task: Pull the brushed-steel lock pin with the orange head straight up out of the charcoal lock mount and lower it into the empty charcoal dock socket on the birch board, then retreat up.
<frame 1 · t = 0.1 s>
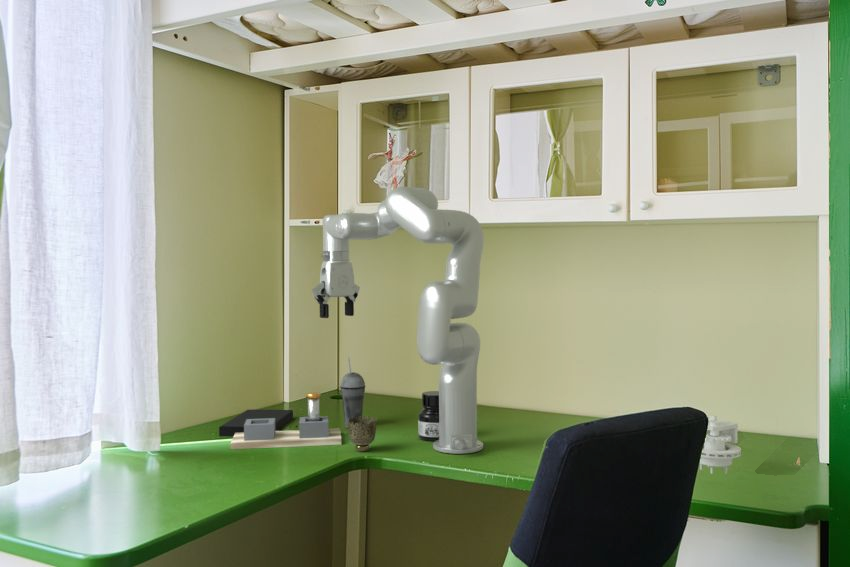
hand: (337, 316, 222), 31 cm above the table, tool pointing down, fingers open, 9 cm apart
ink bottle: (435, 438, 205), on the table
external hard drive: (258, 428, 220), on the table
beverage cup: (353, 427, 219), on the table
dock socket: (260, 429, 201), on the dock board, point 4 cm above the table
mechanical part: (714, 470, 172), on the table
lock pin: (314, 434, 203), point 1 cm above the table, touching dock board
cup: (362, 451, 192), on the table
lock mount: (313, 427, 203), on the dock board, point 4 cm above the table
dock board: (287, 441, 202), on the table
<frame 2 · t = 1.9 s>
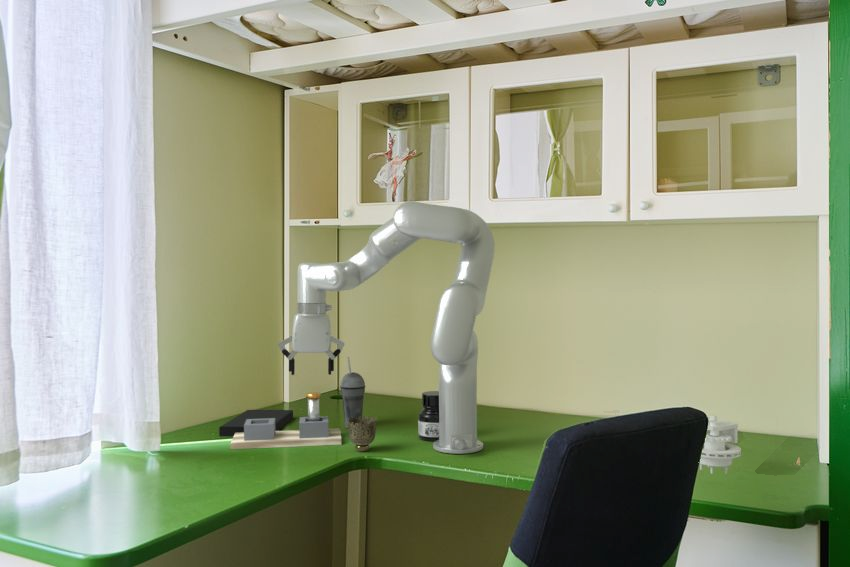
hand: (311, 374, 203), 18 cm above the table, tool pointing down, fingers open, 9 cm apart
nothing on the table moved.
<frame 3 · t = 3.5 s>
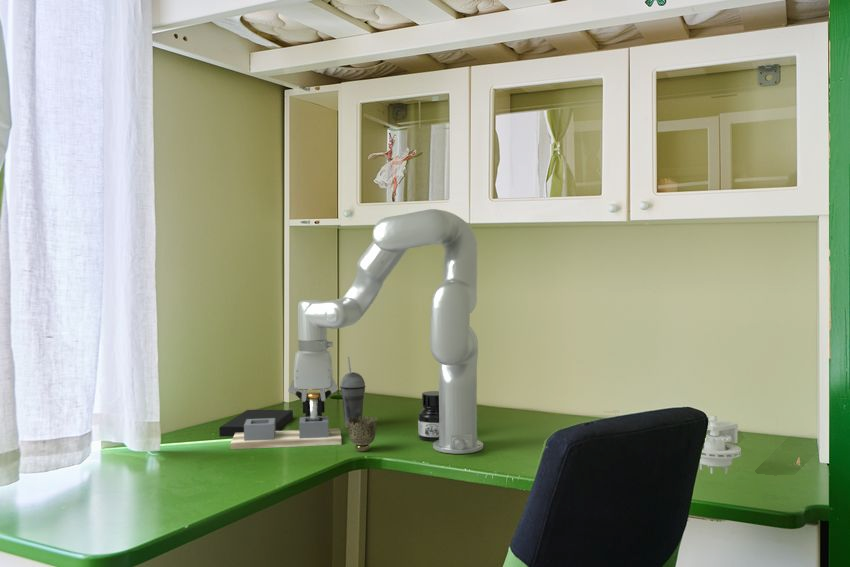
hand: (313, 415, 203), 7 cm above the table, tool pointing down, fingers closed on lock pin, 3 cm apart
lock pin: (314, 434, 203), point 1 cm above the table, touching dock board, gripper
everything else where it was.
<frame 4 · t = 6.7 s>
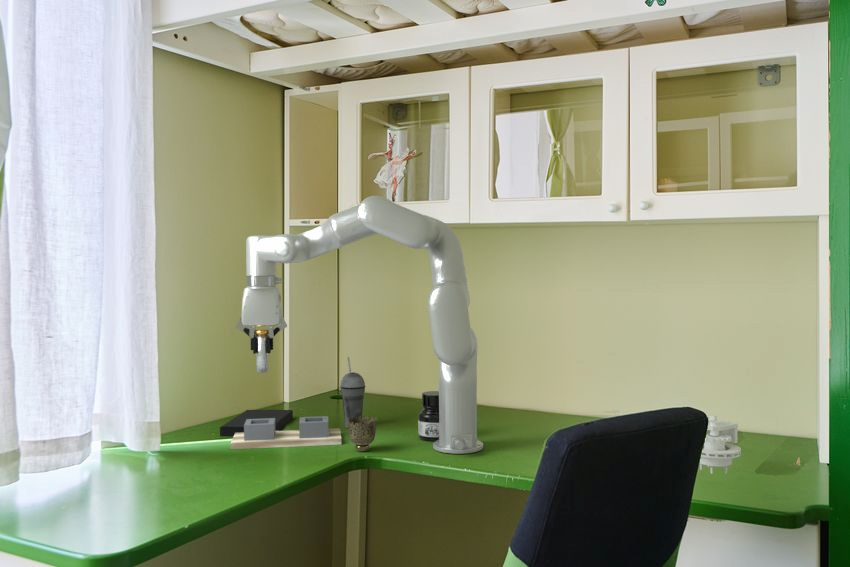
hand: (262, 352, 201), 24 cm above the table, tool pointing down, fingers closed on lock pin, 3 cm apart
lock pin: (262, 371, 201), point 19 cm above the table, touching gripper
everything else where it was.
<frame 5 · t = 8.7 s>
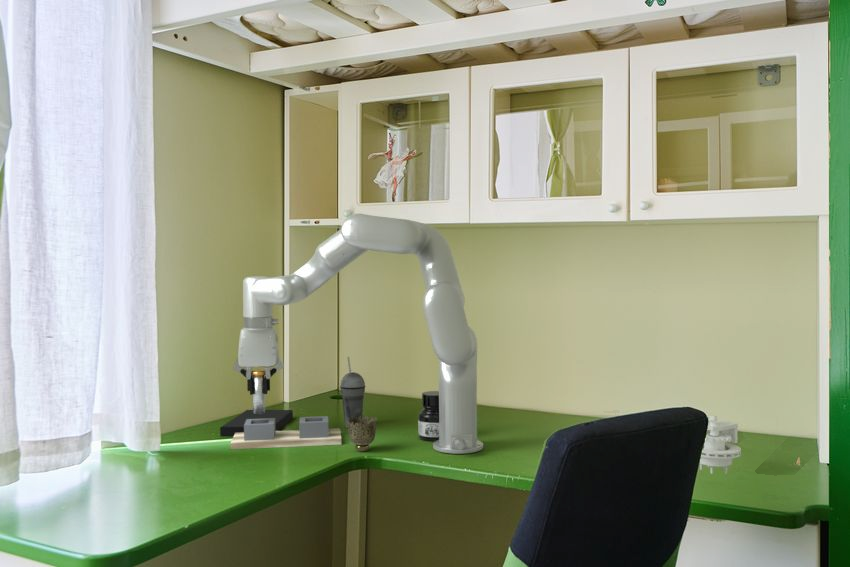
hand: (258, 393, 201), 13 cm above the table, tool pointing down, fingers closed on lock pin, 3 cm apart
lock pin: (259, 412, 201), point 8 cm above the table, touching gripper
everything else where it was.
when the fingers open (8 cm above the table, at t = 10.1 s): lock pin stays where it is, resting on dock board.
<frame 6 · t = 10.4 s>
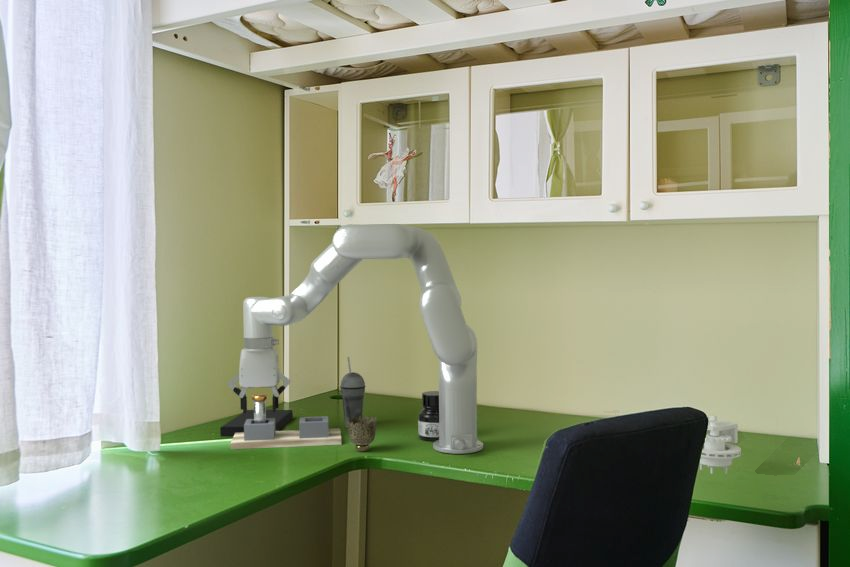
hand: (259, 411, 201), 8 cm above the table, tool pointing down, fingers open, 7 cm apart
lock pin: (260, 436, 201), point 2 cm above the table, touching dock board
everything else where it was.
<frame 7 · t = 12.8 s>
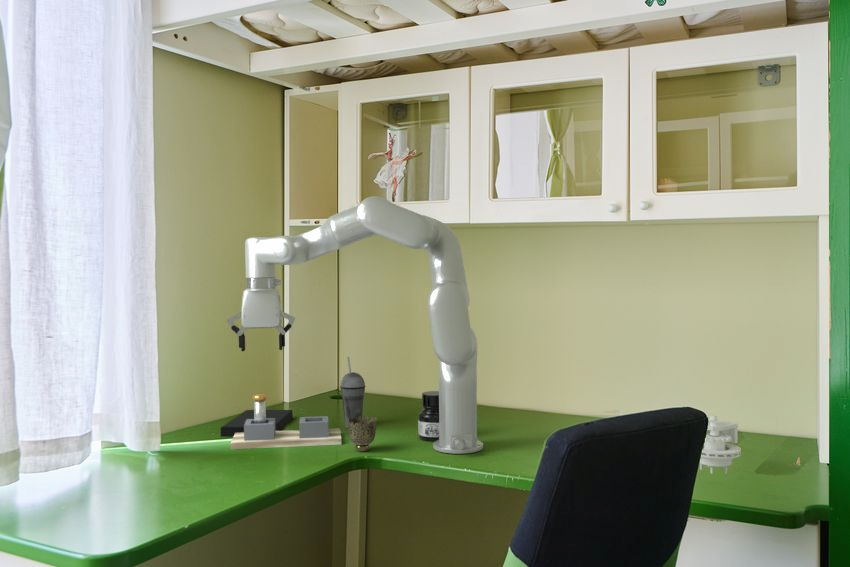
hand: (262, 350, 200), 24 cm above the table, tool pointing down, fingers open, 9 cm apart
nothing on the table moved.
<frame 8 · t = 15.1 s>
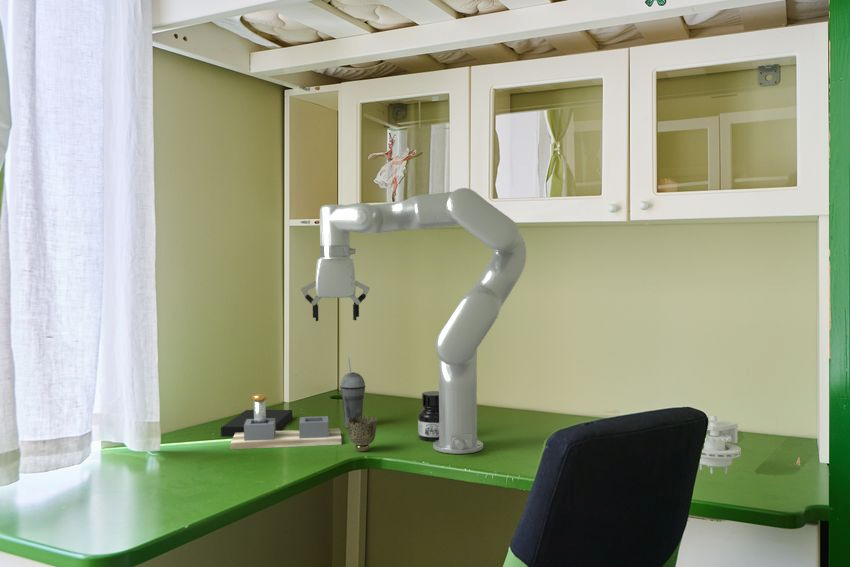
hand: (335, 320, 196), 32 cm above the table, tool pointing down, fingers open, 9 cm apart
nothing on the table moved.
at the end: lock pin 0.0 cm off-centre on the dock socket, point 1.5 cm above the dock socket's base; lock pin tilted 0°; the gripper is holding nothing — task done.
